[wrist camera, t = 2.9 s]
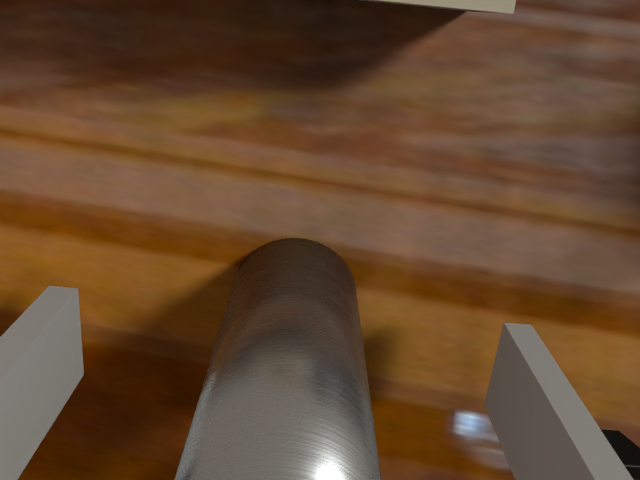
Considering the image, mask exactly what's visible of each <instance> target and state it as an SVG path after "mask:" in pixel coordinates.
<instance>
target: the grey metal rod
mask: <svg viewBox="0 0 640 480" xmlns="http://www.w3.org/2000/svg"><path fill="white" fill-rule="evenodd" d="M174 480H381V474H380V466H379V459H378V451H377V444H376V436H375V429H374V421H373V414H372V406H371V399H370V391H369V384H368V376H367V369H366V361H365V354H364V346H363V339H362V331H361V324H360V316H359V309H358V301H357V294H356V286H355V282H354V278H353V276H352V273H351V271H350V269H349V267H348V266H347V264H346V263H345V262H344V260H343V259H342V258H341V257H340V256H339V255H338V254H337V253H335V252H334V251H333V250H331V249H330V248H328V247H326V246H325V245H323V244H320V243H318V242H315V241H312V240H308V239H301V238H286V239H280V240H275V241H272V242H270V243H267V244H265V245H263V246H261V247H259V248H258V249H256V250H255V251H253V252H252V253H251V254H250V255H249V256H248V257H247V258H246V259H245V260H244V262H243V263H242V264H241V266H240V268H239V269H238V272H237V274H236V276H235V280H234V283H233V286H232V290H231V293H230V296H229V300H228V303H227V306H226V310H225V313H224V316H223V320H222V323H221V326H220V330H219V333H218V336H217V340H216V343H215V346H214V350H213V353H212V356H211V360H210V363H209V366H208V370H207V373H206V376H205V379H204V383H203V386H202V389H201V393H200V396H199V399H198V403H197V406H196V409H195V413H194V416H193V419H192V423H191V426H190V429H189V433H188V436H187V439H186V443H185V446H184V449H183V453H182V456H181V459H180V463H179V466H178V469H177V472H176V476H175V479H174Z"/></svg>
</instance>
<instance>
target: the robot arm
mask: <svg viewBox="0 0 640 480" xmlns="http://www.w3.org/2000/svg"><path fill="white" fill-rule="evenodd" d="M83 375H84V368H83V354H82V339H81V325H80V311H79V296H78V288H68V287H55V286H48V288H47V289H46V290H45V291H44V292H43V293H42V294H41V295H40V296H39V297H38V298H37V299H36V300H35V301H34V302H33V303H32V304H31V305H30V306H29V307H28V309H27V310H26V311H25V312H24V313H23V314H22V315H21V316H20V317H19V318H18V319H17V320H16V321H15V322H14V323H13V324H12V325H11V326H10V327H9V328H8V330H7V331H6V332H5V333H4V334H3V335H2V336H1V337H0V480H18V478H19V477H20V475H21V473H22V472H23V470H24V469H25V467H26V466H27V464H28V462H29V461H30V459H31V458H32V456H33V454H34V453H35V451H36V450H37V448H38V447H39V445H40V443H41V442H42V440H43V439H44V437H45V435H46V434H47V432H48V431H49V429H50V428H51V426H52V424H53V423H54V421H55V420H56V418H57V416H58V415H59V413H60V412H61V410H62V409H63V407H64V405H65V404H66V402H67V401H68V399H69V397H70V396H71V394H72V393H73V391H74V390H75V388H76V386H77V385H78V383H79V382H80V380H81V378H82V377H83ZM484 405H485V408H486V410H487V413H488V415H489V417H490V420H491V422H492V425H493V427H494V430H495V432H496V434H497V437H498V439H499V442H500V444H501V447H502V449H503V451H504V454H505V456H506V459H507V461H508V464H509V466H510V468H511V471H512V473H513V476H514V478H515V480H640V448H639V447H638V446H637V445H635V444H634V443H633V442H632V441H631V440H629V439H628V438H627V437H626V436H624V435H623V434H622V433H621V432H620V431H613V430H600V428H599V427H598V425H597V424H596V422H595V420H594V419H593V417H592V416H591V414H590V413H589V411H588V410H587V408H586V407H585V405H584V404H583V402H582V401H581V399H580V398H579V396H578V395H577V393H576V392H575V390H574V389H573V387H572V386H571V384H570V383H569V381H568V380H567V378H566V377H565V375H564V374H563V372H562V371H561V369H560V367H559V366H558V364H557V363H556V361H555V360H554V358H553V357H552V355H551V354H550V352H549V351H548V349H547V348H546V346H545V345H544V343H543V342H542V340H541V339H540V337H539V336H538V334H537V333H536V331H535V330H534V328H533V327H532V325H526V324H514V323H504V325H503V329H502V333H501V337H500V341H499V346H498V350H497V354H496V358H495V362H494V366H493V371H492V375H491V379H490V383H489V387H488V391H487V396H486V400H485V404H484Z"/></svg>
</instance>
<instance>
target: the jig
mask: <svg viewBox="0 0 640 480" xmlns="http://www.w3.org/2000/svg"><path fill="white" fill-rule="evenodd" d="M360 1H370V2H380V3H390V4H400V5H410V6H420V7H430V8H440V9H450V10H460V11H471V12H489V13H507V14H513V13H514V8H515V3H516V0H360Z"/></svg>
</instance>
